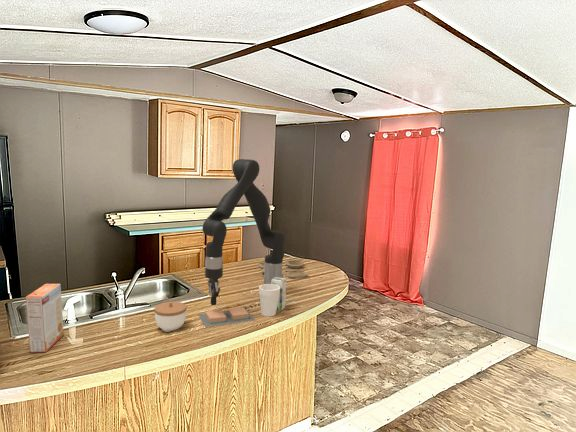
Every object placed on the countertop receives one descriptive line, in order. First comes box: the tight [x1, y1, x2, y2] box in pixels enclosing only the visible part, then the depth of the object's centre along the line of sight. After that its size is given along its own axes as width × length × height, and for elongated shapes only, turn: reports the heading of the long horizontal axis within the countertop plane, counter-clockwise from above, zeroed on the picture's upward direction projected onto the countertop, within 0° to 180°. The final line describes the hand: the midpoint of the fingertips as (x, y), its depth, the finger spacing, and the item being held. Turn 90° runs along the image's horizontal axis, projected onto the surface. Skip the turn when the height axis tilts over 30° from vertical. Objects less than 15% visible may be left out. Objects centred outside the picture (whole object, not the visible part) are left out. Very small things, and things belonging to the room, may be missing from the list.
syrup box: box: [271, 277, 287, 312], centre depth 192 cm, size 6×6×14 cm
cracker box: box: [25, 283, 65, 353], centre depth 148 cm, size 14×6×21 cm, turn 5°
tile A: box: [227, 306, 249, 321], centre depth 180 cm, size 7×2×8 cm
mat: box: [197, 308, 256, 328], centre depth 178 cm, size 22×14×1 cm, turn 114°
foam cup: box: [258, 283, 280, 317], centre depth 184 cm, size 10×9×13 cm
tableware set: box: [257, 259, 309, 279], centre depth 255 cm, size 35×29×4 cm
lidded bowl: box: [153, 301, 188, 333], centre depth 166 cm, size 13×13×11 cm
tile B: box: [205, 309, 226, 324], centre depth 176 cm, size 7×2×8 cm
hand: (213, 304), depth 178 cm, fingers closed
